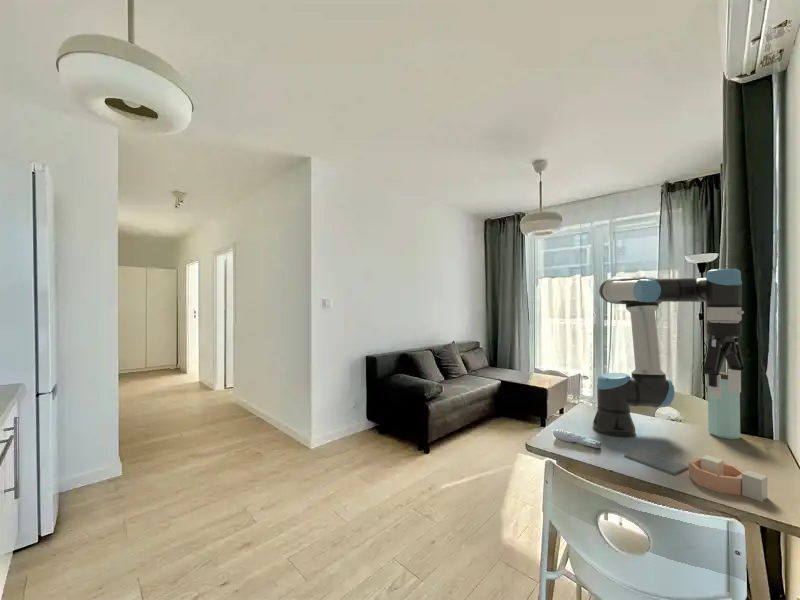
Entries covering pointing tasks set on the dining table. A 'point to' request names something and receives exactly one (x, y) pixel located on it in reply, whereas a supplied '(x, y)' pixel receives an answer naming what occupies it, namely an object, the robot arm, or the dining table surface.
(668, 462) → the slate board
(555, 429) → the dining table surface
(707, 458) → the stone
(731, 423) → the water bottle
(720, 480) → the bowl
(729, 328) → the robot arm
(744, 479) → the stone
